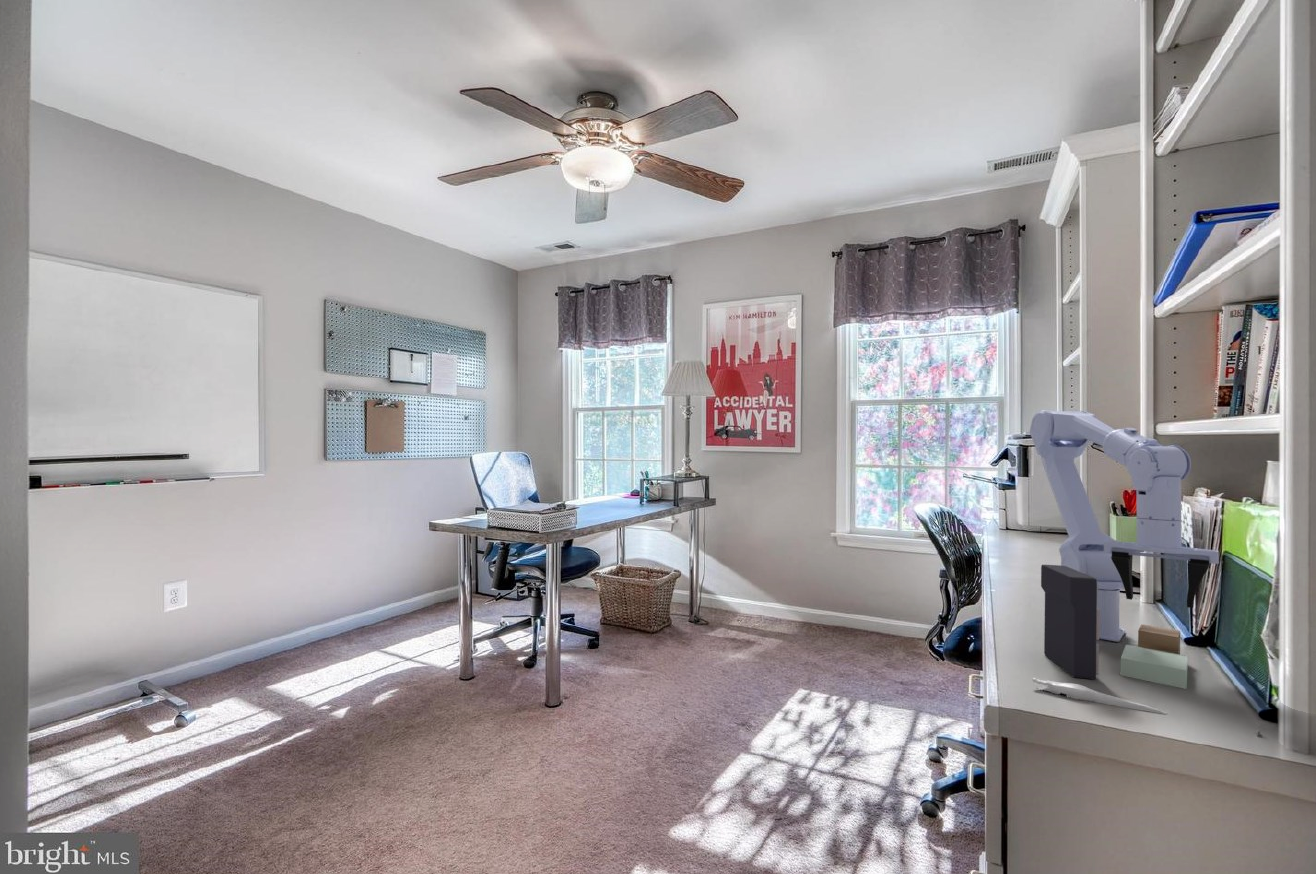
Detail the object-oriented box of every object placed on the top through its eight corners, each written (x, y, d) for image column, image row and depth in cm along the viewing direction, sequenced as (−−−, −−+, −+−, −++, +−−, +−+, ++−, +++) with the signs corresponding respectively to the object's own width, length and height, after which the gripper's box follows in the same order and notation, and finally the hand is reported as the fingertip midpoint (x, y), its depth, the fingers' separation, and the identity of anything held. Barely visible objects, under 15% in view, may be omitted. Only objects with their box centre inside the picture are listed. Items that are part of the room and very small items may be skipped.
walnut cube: (1141, 654, 104) (1141, 624, 104) (1180, 661, 101) (1180, 630, 101) (1138, 661, 101) (1138, 630, 101) (1178, 669, 97) (1178, 637, 97)
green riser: (1125, 663, 100) (1126, 644, 100) (1187, 675, 95) (1187, 655, 95) (1120, 677, 94) (1120, 657, 94) (1186, 691, 89) (1186, 670, 89)
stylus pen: (1031, 691, 87) (1032, 678, 87) (1031, 686, 89) (1032, 672, 89) (1168, 724, 79) (1169, 709, 79) (1165, 717, 81) (1166, 702, 81)
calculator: (1102, 681, 91) (1103, 579, 91) (1069, 678, 92) (1070, 577, 92) (1068, 656, 102) (1069, 565, 102) (1039, 654, 103) (1040, 563, 103)
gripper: (1100, 516, 103) (1101, 598, 103) (1217, 524, 93) (1218, 614, 93) (1107, 514, 108) (1107, 592, 108) (1218, 521, 99) (1219, 607, 98)
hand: (1159, 602), depth 101 cm, fingers open, 7 cm apart
